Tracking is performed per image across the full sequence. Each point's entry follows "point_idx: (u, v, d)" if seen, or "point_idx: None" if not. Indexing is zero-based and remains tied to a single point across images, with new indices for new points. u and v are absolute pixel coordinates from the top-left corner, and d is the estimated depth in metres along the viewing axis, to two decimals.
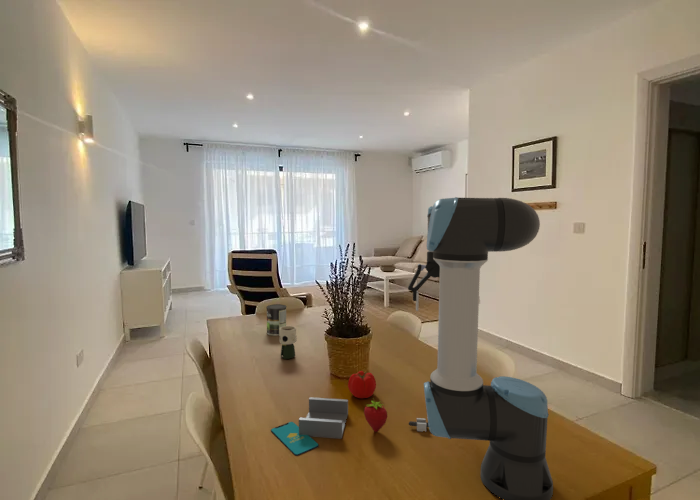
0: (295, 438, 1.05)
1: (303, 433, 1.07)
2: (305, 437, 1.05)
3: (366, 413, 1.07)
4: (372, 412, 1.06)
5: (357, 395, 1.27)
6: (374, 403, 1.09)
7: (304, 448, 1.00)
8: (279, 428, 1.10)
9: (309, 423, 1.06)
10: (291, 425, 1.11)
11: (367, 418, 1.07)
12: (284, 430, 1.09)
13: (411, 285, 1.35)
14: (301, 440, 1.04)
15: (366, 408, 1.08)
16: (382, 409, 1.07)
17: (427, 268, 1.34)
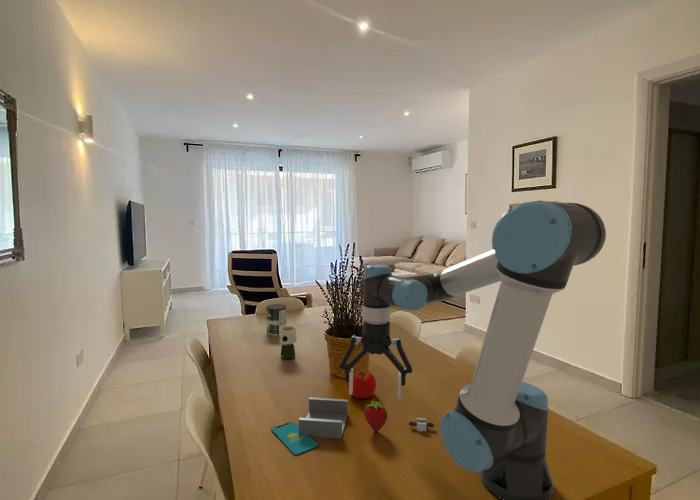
0: (295, 438, 1.05)
1: (303, 433, 1.07)
2: (305, 437, 1.05)
3: (366, 413, 1.07)
4: (372, 412, 1.06)
5: (357, 395, 1.27)
6: (374, 403, 1.09)
7: (304, 448, 1.00)
8: (279, 428, 1.10)
9: (309, 423, 1.06)
10: (291, 425, 1.11)
11: (367, 418, 1.07)
12: (285, 430, 1.09)
13: (343, 363, 1.07)
14: (301, 440, 1.04)
15: (366, 408, 1.08)
16: (382, 409, 1.07)
17: (362, 342, 1.06)
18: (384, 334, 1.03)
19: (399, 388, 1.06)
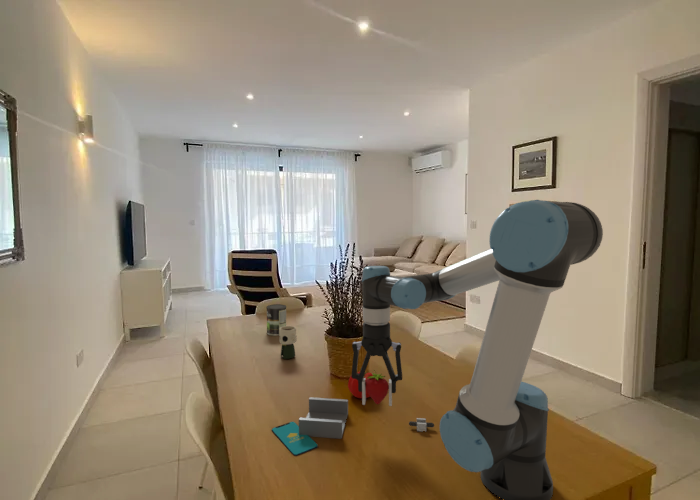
0: (295, 438, 1.05)
1: (303, 433, 1.07)
2: (305, 437, 1.05)
3: (367, 385, 1.06)
4: (373, 383, 1.05)
5: (357, 395, 1.27)
6: (375, 375, 1.08)
7: (303, 448, 1.00)
8: (280, 428, 1.10)
9: (309, 423, 1.06)
10: (292, 425, 1.11)
11: (368, 390, 1.06)
12: (285, 430, 1.09)
13: (353, 372, 1.07)
14: (301, 440, 1.04)
15: (367, 380, 1.07)
16: (383, 380, 1.06)
17: (364, 345, 1.06)
18: (384, 335, 1.03)
19: (390, 396, 1.06)
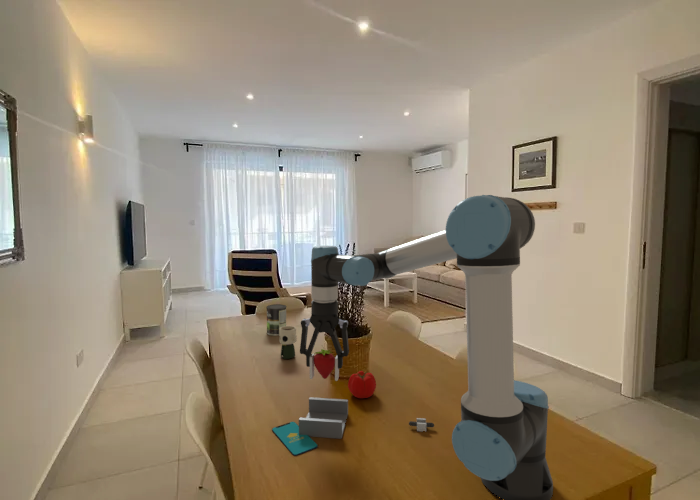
0: (295, 438, 1.05)
1: (303, 433, 1.07)
2: (305, 437, 1.05)
3: (315, 360, 1.10)
4: (320, 358, 1.09)
5: (357, 395, 1.27)
6: (323, 351, 1.12)
7: (303, 448, 1.00)
8: (280, 428, 1.10)
9: (309, 423, 1.06)
10: (292, 425, 1.11)
11: (315, 364, 1.10)
12: (285, 430, 1.09)
13: (302, 347, 1.10)
14: (301, 440, 1.04)
15: (315, 355, 1.11)
16: (330, 356, 1.10)
17: (312, 322, 1.10)
18: (331, 312, 1.07)
19: (336, 371, 1.10)
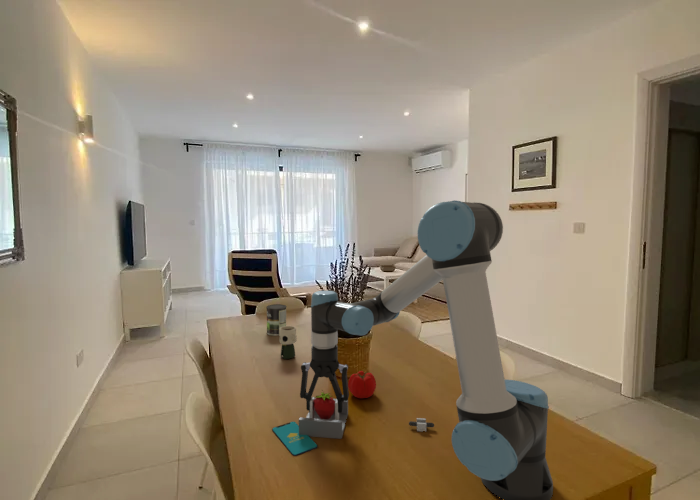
0: (295, 438, 1.05)
1: (303, 433, 1.07)
2: (305, 437, 1.05)
3: (315, 404, 1.11)
4: (320, 403, 1.10)
5: (357, 395, 1.27)
6: (323, 394, 1.13)
7: (303, 448, 1.00)
8: (280, 428, 1.10)
9: (309, 423, 1.06)
10: (292, 425, 1.11)
11: (316, 409, 1.11)
12: (285, 430, 1.09)
13: (302, 391, 1.11)
14: (301, 440, 1.04)
15: (315, 399, 1.12)
16: (330, 400, 1.11)
17: (312, 366, 1.11)
18: (330, 358, 1.08)
19: (336, 415, 1.11)
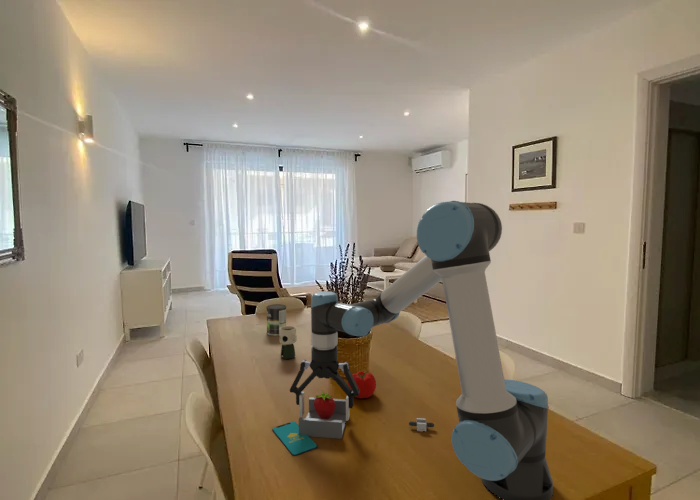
0: (295, 438, 1.05)
1: (303, 433, 1.07)
2: (305, 437, 1.05)
3: (315, 404, 1.11)
4: (320, 403, 1.10)
5: None
6: (323, 394, 1.13)
7: (302, 449, 1.00)
8: (280, 427, 1.10)
9: (309, 423, 1.06)
10: (293, 425, 1.11)
11: (316, 409, 1.11)
12: (285, 430, 1.09)
13: (293, 386, 1.12)
14: (301, 440, 1.04)
15: (315, 399, 1.12)
16: (330, 400, 1.11)
17: (311, 367, 1.11)
18: (330, 359, 1.08)
19: (347, 411, 1.10)
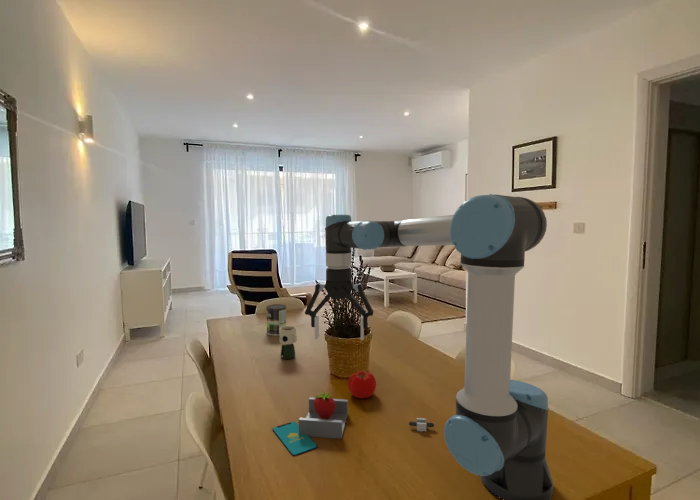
0: (295, 438, 1.05)
1: (303, 433, 1.07)
2: (305, 437, 1.05)
3: (315, 404, 1.11)
4: (320, 403, 1.10)
5: (357, 395, 1.27)
6: (323, 394, 1.13)
7: (302, 449, 1.00)
8: (281, 427, 1.10)
9: (309, 423, 1.06)
10: (293, 425, 1.11)
11: (316, 409, 1.11)
12: (285, 429, 1.09)
13: (308, 308, 1.13)
14: (301, 440, 1.04)
15: (315, 399, 1.12)
16: (330, 400, 1.11)
17: (326, 288, 1.13)
18: (345, 278, 1.10)
19: (361, 330, 1.12)
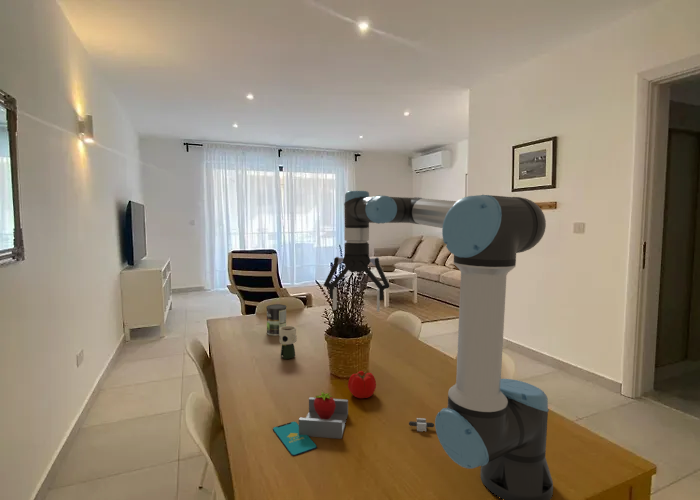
0: (294, 438, 1.05)
1: (303, 433, 1.07)
2: (305, 437, 1.05)
3: (315, 404, 1.11)
4: (320, 403, 1.10)
5: (357, 395, 1.27)
6: (323, 394, 1.13)
7: (302, 449, 1.00)
8: (281, 427, 1.10)
9: (309, 423, 1.06)
10: (293, 425, 1.11)
11: (316, 409, 1.11)
12: (286, 429, 1.09)
13: (327, 281, 1.19)
14: (301, 441, 1.04)
15: (315, 399, 1.12)
16: (330, 400, 1.11)
17: (344, 261, 1.18)
18: (363, 252, 1.15)
19: (378, 302, 1.17)
